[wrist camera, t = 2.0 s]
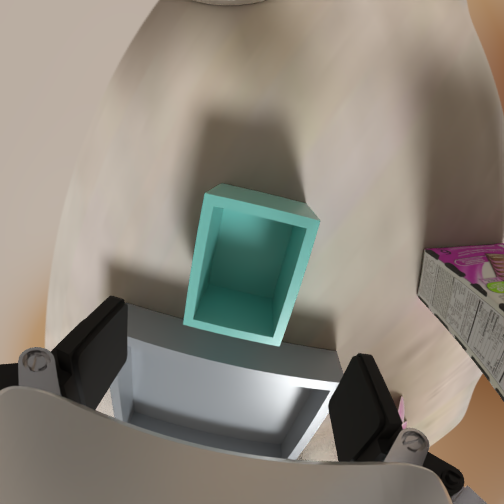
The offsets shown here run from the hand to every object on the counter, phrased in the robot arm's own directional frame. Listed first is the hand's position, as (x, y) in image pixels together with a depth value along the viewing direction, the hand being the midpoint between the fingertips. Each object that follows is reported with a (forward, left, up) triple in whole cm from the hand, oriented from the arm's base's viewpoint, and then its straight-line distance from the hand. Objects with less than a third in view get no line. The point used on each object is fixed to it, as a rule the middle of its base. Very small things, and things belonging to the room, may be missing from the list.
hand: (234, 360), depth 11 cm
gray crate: (+15, 0, -13) cm, 20 cm away
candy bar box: (-4, +20, -13) cm, 24 cm away
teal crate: (-1, 0, -13) cm, 13 cm away
